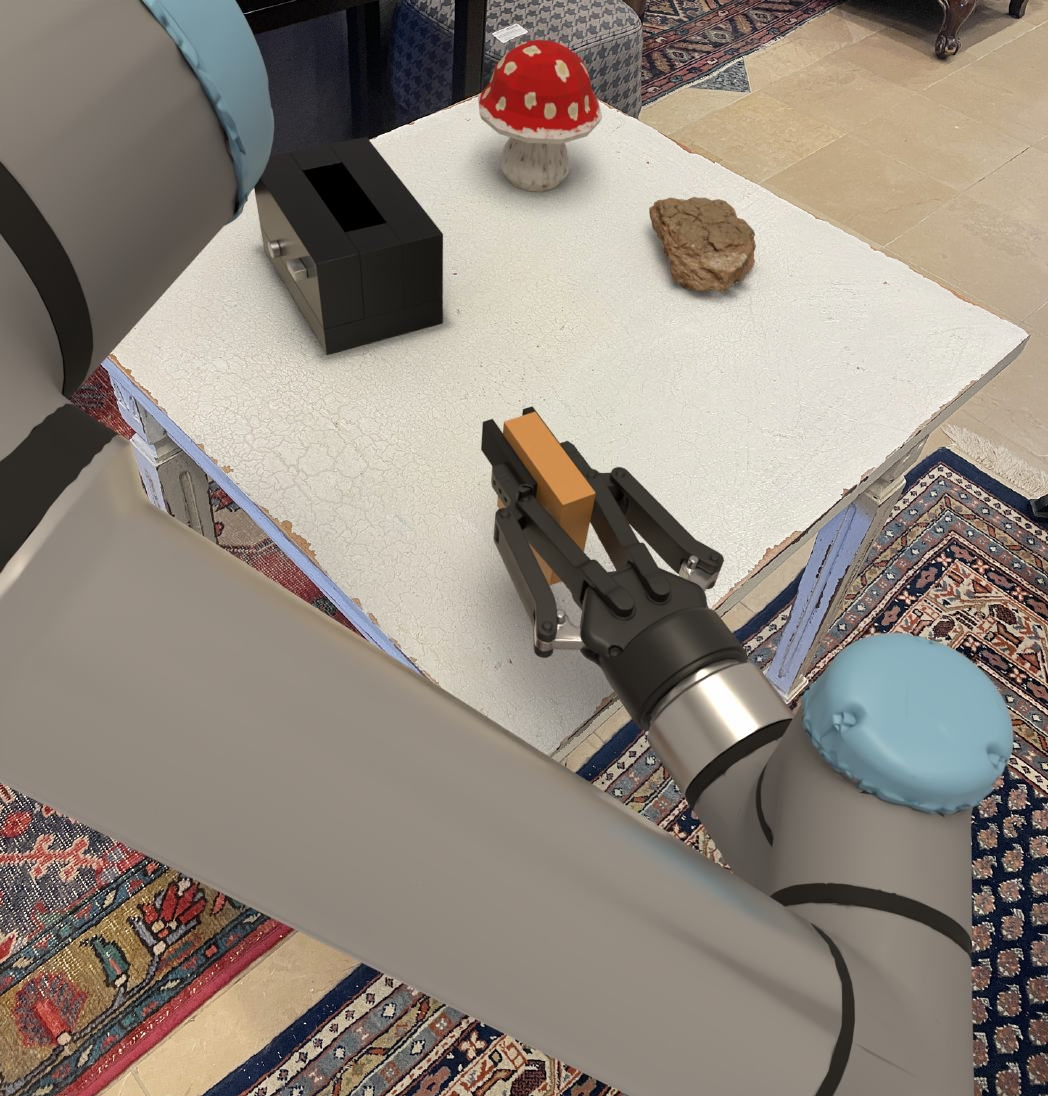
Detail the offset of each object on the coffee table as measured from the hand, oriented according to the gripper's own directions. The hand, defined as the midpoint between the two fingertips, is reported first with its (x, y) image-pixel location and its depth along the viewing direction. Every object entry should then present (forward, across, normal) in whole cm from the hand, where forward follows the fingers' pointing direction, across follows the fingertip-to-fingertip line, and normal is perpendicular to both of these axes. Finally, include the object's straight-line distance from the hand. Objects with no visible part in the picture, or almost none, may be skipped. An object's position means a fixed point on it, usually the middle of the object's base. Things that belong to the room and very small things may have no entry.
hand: (506, 428), depth 66 cm
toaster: (+36, +2, -14) cm, 39 cm away
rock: (+25, +38, -14) cm, 48 cm away
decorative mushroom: (+47, +29, -14) cm, 57 cm away
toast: (-6, 0, -6) cm, 8 cm away
